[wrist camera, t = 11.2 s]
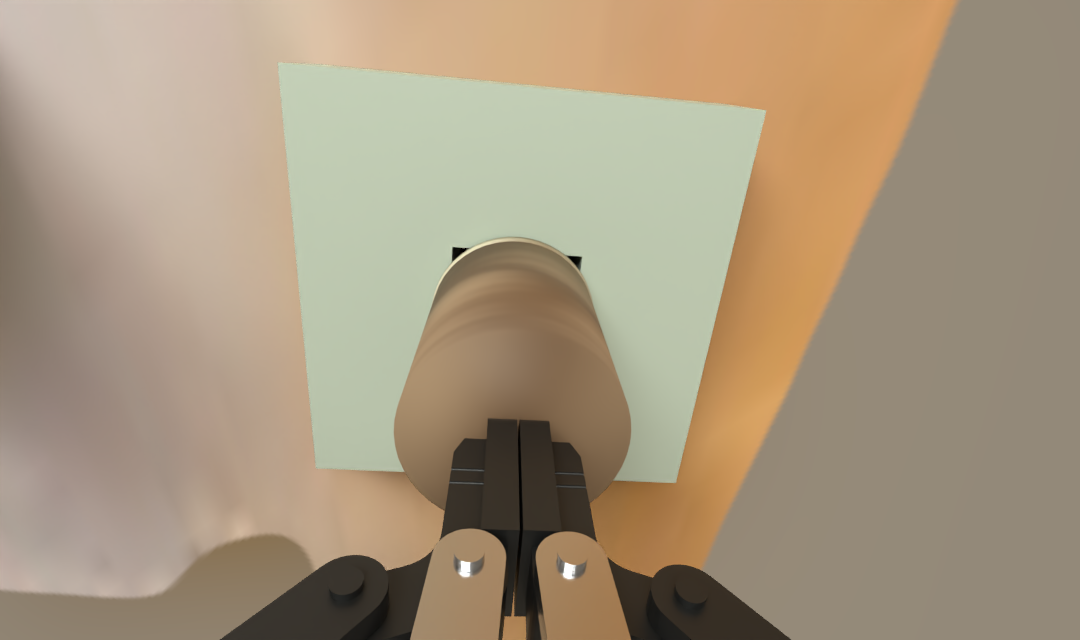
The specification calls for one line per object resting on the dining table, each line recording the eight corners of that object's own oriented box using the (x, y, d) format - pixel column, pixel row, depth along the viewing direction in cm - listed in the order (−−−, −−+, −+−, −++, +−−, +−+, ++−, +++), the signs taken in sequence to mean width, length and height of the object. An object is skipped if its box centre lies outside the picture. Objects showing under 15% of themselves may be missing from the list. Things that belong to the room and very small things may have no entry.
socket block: (342, 415, 27) (315, 468, 24) (318, 64, 21) (277, 62, 17) (654, 430, 29) (675, 483, 25) (724, 103, 22) (766, 110, 19)
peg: (442, 338, 25) (393, 524, 15) (445, 207, 23) (389, 321, 12) (572, 345, 26) (614, 532, 15) (589, 218, 23) (652, 337, 13)
